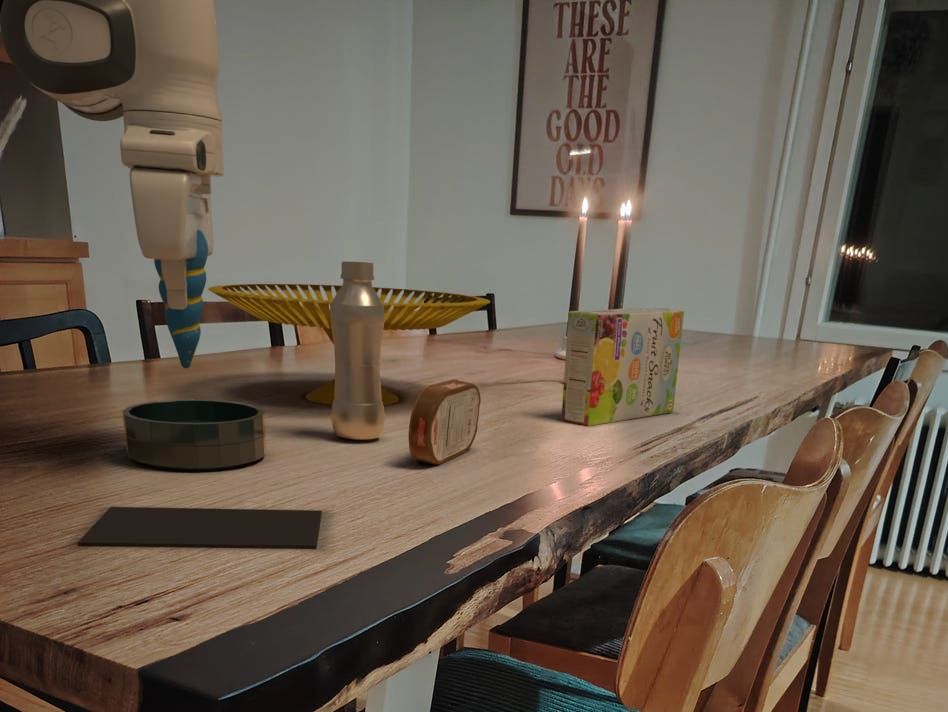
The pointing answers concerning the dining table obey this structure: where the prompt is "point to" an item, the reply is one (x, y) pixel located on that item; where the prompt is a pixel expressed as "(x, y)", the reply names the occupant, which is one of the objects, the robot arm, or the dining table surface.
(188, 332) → the ornament
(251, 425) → the bowl
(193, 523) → the mat
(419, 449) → the tin
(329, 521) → the dining table surface
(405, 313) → the cake stand
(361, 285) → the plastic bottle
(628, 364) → the snack box
